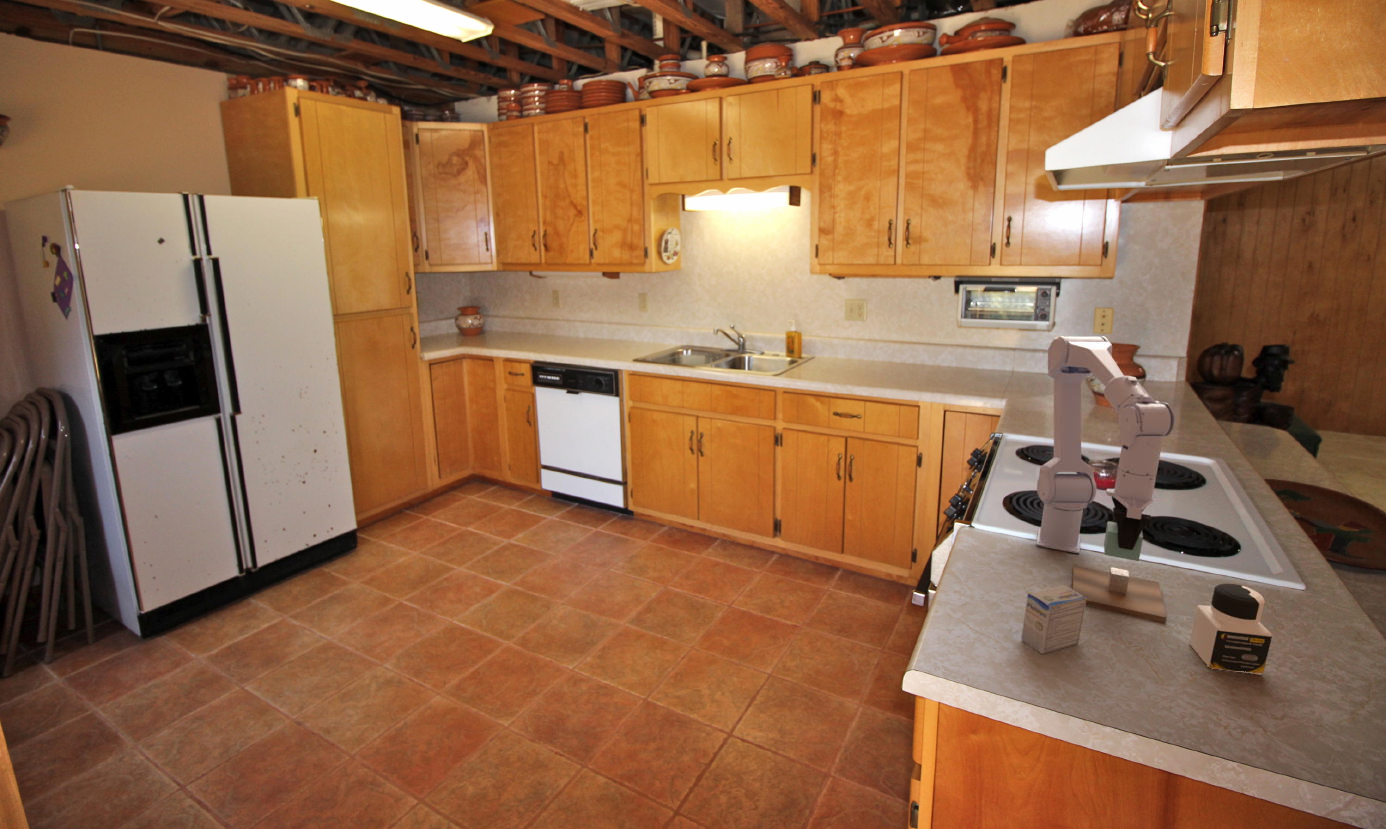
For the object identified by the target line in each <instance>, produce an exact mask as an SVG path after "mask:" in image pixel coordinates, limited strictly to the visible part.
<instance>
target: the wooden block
mask: <svg viewBox="0 0 1386 829" xmlns="http://www.w3.org/2000/svg"><path fill="white" fill-rule="evenodd" d="M1109 568H1110V569H1109V572H1110V574H1109V580H1108V591H1111V592H1116V593H1120V594H1125V595H1126V593H1127V587H1128V582H1129V576H1130V572H1129V569H1122V568H1117V567H1113V566H1112V567H1109Z"/></svg>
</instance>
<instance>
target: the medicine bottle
mask: <svg viewBox="0 0 1386 829" xmlns="http://www.w3.org/2000/svg"><path fill="white" fill-rule="evenodd" d="M1265 600H1266V599H1265V598H1264V597H1263V596H1262V594H1261V593H1259V592H1258V591H1256V590H1255V589H1253V588H1249V587H1248V586H1245V585H1241V584H1236V583H1219V584H1218V585H1216V586H1215V587H1214V590H1213V594H1212V598H1211V601H1210V602H1211V604H1210V605H1202V604H1198V605H1197V606H1196V608H1195V609H1196V611H1195V615H1194V619H1193V623H1192V628H1191V633H1190V639H1189V645H1190V646H1191V647H1192V649H1193V650H1194V651H1195V652H1196V654H1197V653H1198V654H1197V655H1198V657H1199V658H1200V659H1201V660H1202V662H1203V663H1204V662H1205V663H1206V664H1207V665H1206V664H1205V663H1204V664H1205V665H1206V666H1207V668H1208V667H1209V668H1212V669H1211V670H1213V669H1222V670H1230V671H1244V672H1245V671H1246V672H1253V673H1263V674H1264V670H1265V666H1266V662H1267V658H1268V655H1269V650H1270V647H1271V641H1272V639H1273V634H1272V633H1271V631H1269V630H1268V629H1267V628H1266V627H1265V625H1263V623H1261V618H1262V614H1263V610H1264V605H1265V602H1266V601H1265ZM1209 668H1208V669H1209Z"/></svg>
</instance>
